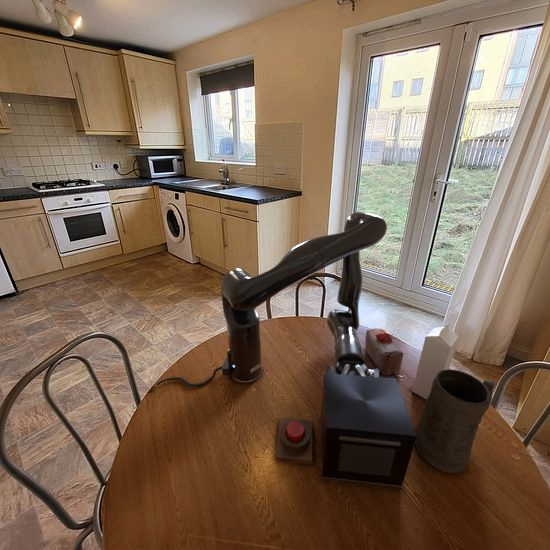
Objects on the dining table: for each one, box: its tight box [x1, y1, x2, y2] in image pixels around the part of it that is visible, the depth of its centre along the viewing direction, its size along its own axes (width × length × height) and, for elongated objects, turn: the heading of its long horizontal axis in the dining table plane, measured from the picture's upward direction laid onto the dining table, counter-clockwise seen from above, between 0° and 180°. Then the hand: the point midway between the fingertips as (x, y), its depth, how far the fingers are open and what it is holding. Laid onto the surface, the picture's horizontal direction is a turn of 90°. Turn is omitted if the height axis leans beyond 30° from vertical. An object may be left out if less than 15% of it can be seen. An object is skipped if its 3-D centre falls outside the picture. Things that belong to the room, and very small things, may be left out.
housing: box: [275, 417, 313, 465], centre depth 68 cm, size 8×10×3 cm
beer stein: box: [414, 369, 496, 474], centre depth 63 cm, size 15×11×20 cm
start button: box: [287, 421, 304, 442], centre depth 67 cm, size 4×4×2 cm
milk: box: [411, 321, 460, 401], centre depth 77 cm, size 6×6×22 cm
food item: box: [364, 328, 404, 376], centre depth 92 cm, size 14×8×10 cm, turn 9°
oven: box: [319, 372, 417, 490], centre depth 63 cm, size 16×14×16 cm
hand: (356, 401), depth 68 cm, fingers closed on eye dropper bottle, 5 cm apart
